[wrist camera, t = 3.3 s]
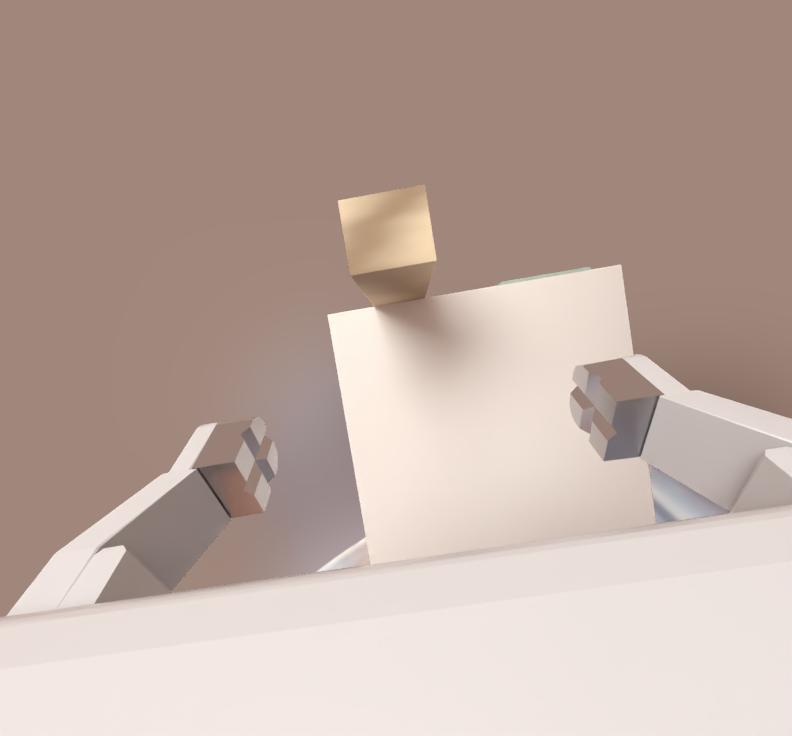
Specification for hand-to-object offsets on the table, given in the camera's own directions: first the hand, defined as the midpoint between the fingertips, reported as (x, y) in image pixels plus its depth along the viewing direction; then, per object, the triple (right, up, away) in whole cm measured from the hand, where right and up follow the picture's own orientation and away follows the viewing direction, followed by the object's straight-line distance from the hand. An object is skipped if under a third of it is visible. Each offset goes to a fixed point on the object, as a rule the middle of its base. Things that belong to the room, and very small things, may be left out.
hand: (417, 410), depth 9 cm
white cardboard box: (+9, -19, +23) cm, 31 cm away
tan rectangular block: (0, +6, +17) cm, 18 cm away
